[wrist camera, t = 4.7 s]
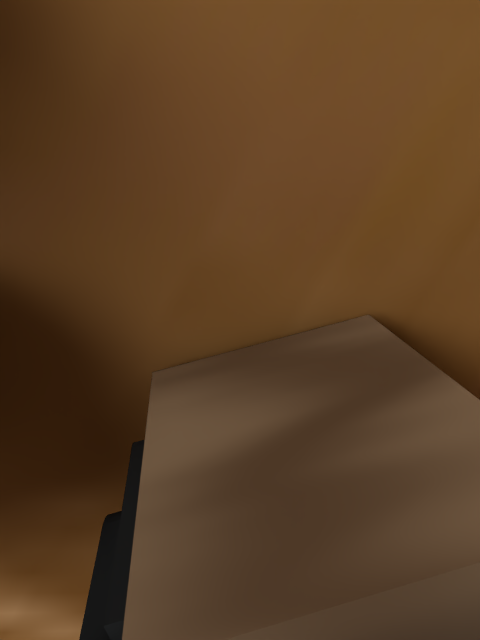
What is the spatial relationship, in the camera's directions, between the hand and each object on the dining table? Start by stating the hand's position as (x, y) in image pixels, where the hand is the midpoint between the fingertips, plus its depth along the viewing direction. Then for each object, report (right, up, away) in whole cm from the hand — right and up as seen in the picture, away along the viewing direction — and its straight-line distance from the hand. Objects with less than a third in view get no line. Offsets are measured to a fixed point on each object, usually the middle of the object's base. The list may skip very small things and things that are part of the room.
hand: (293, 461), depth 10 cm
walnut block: (0, 0, +1) cm, 1 cm away
